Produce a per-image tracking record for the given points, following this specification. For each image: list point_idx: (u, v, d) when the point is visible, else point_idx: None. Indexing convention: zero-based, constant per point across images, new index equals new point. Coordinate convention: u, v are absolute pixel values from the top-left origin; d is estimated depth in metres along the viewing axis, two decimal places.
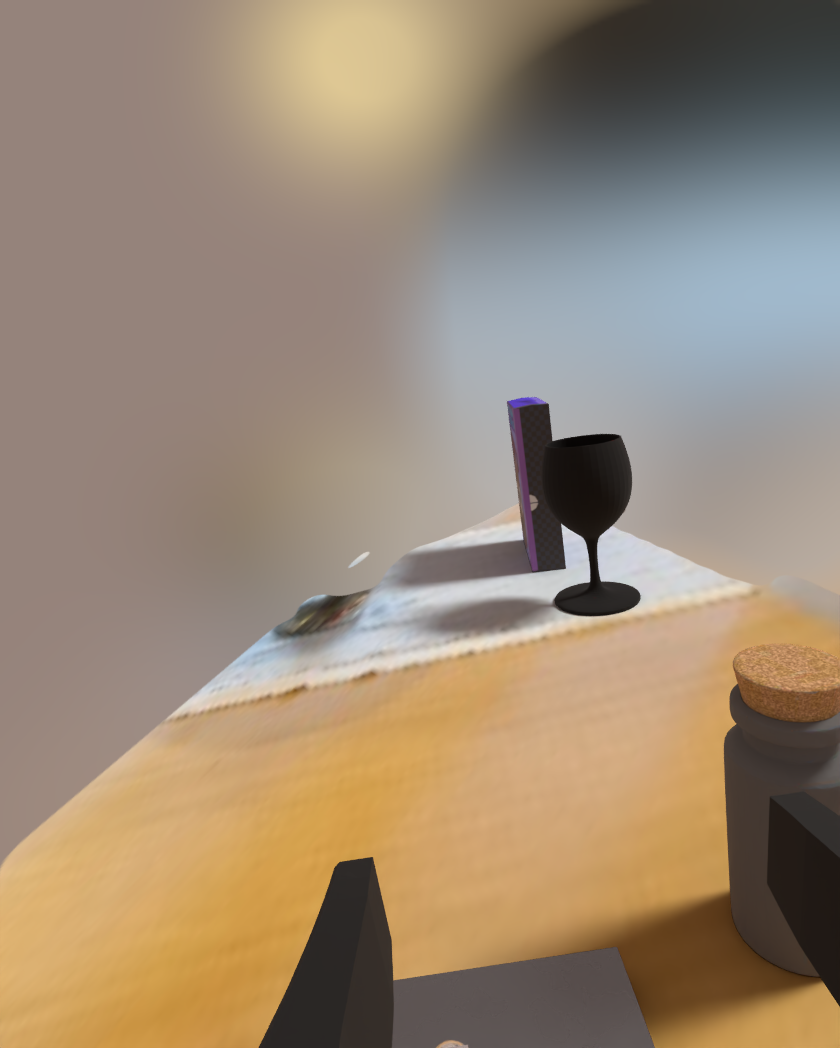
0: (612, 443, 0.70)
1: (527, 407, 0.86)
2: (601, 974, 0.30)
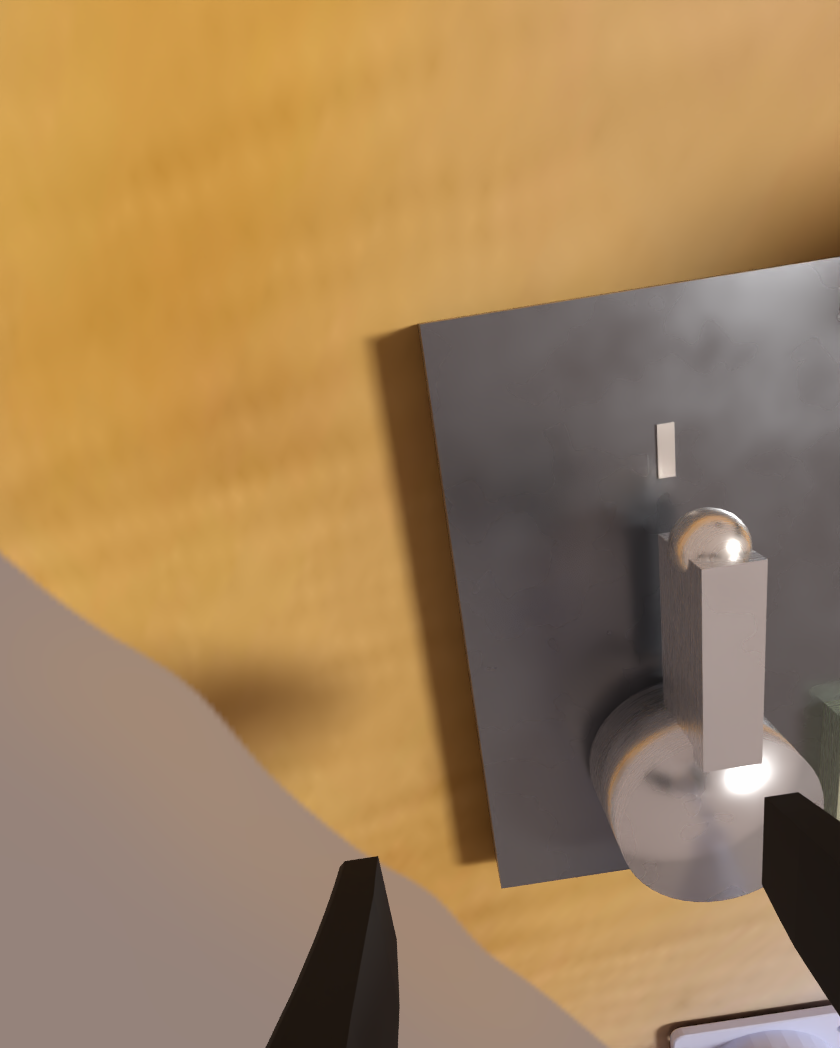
0: None
1: None
2: None
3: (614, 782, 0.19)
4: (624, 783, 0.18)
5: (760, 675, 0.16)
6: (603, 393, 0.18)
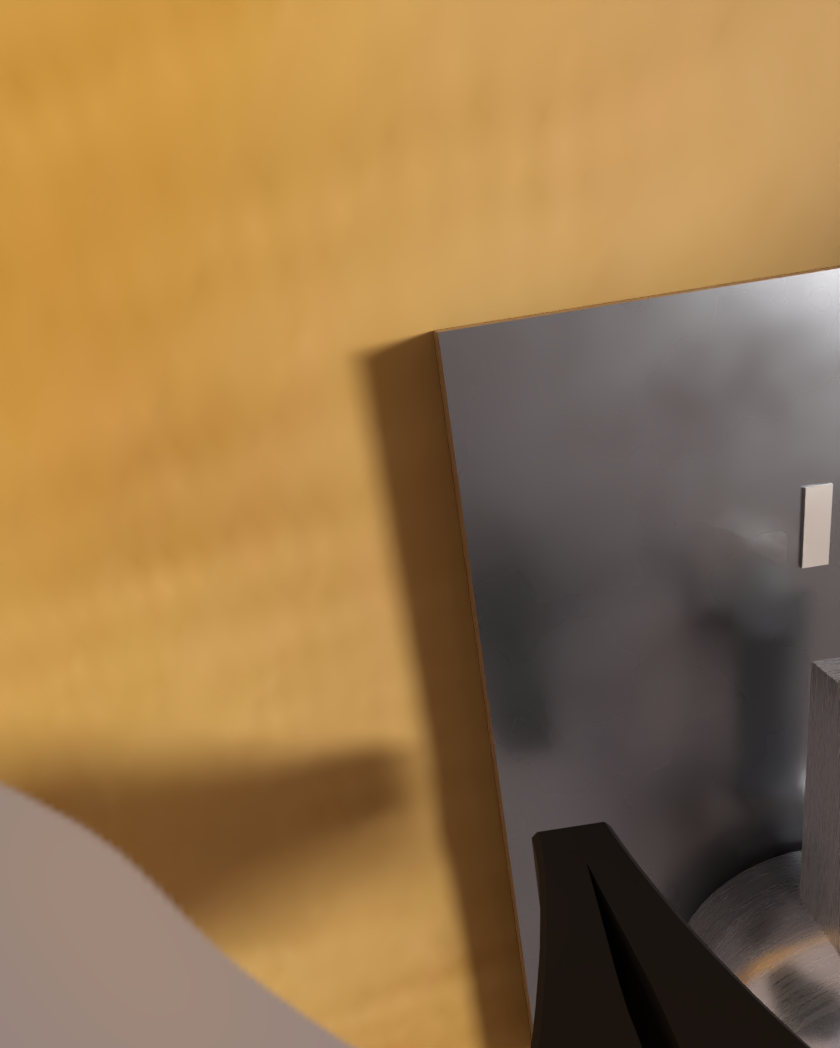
0: None
1: None
2: None
3: None
4: None
5: None
6: (725, 440, 0.11)
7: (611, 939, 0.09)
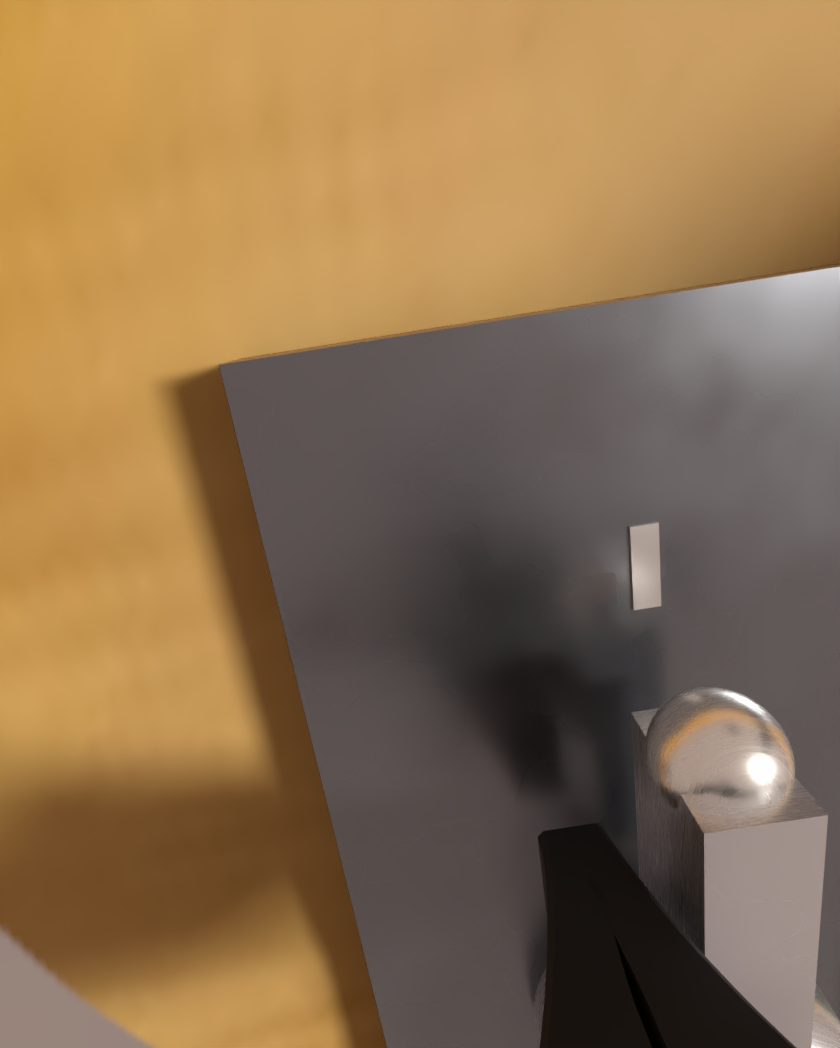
0: None
1: None
2: None
3: None
4: None
5: (807, 991, 0.09)
6: (540, 477, 0.11)
7: None
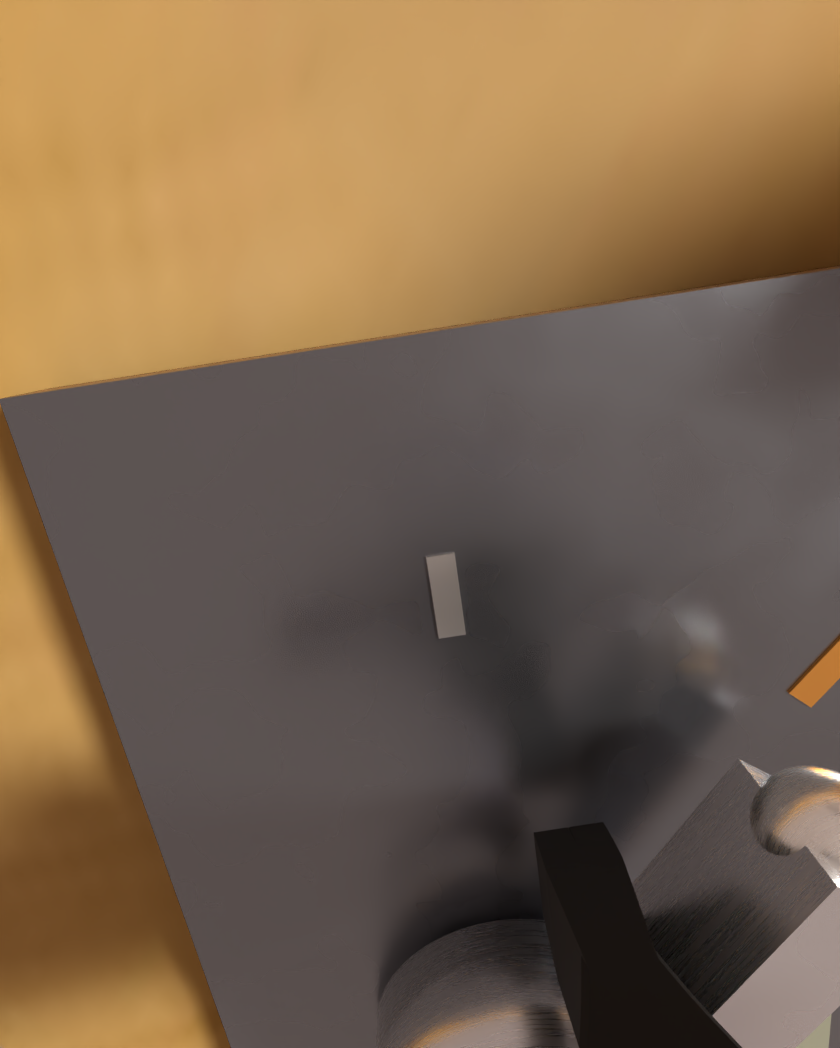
0: None
1: None
2: None
3: None
4: None
5: None
6: (331, 509, 0.11)
7: (567, 946, 0.09)
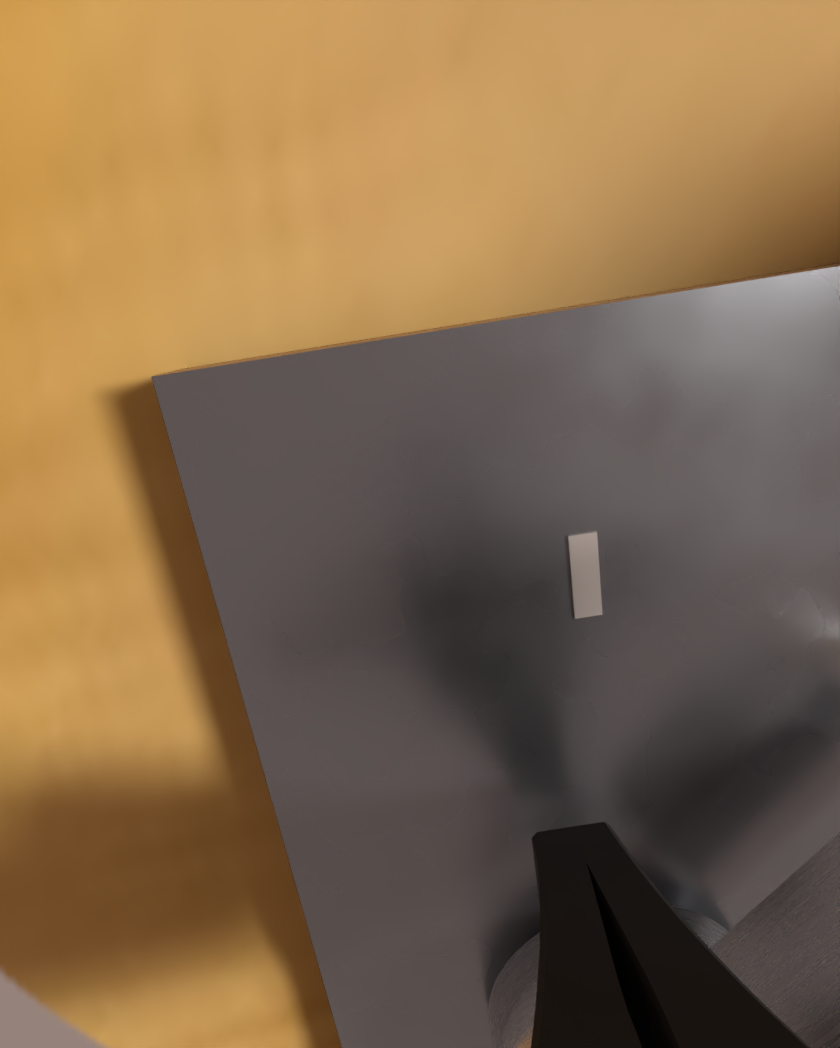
0: None
1: None
2: None
3: None
4: None
5: None
6: (477, 487, 0.11)
7: (611, 939, 0.09)
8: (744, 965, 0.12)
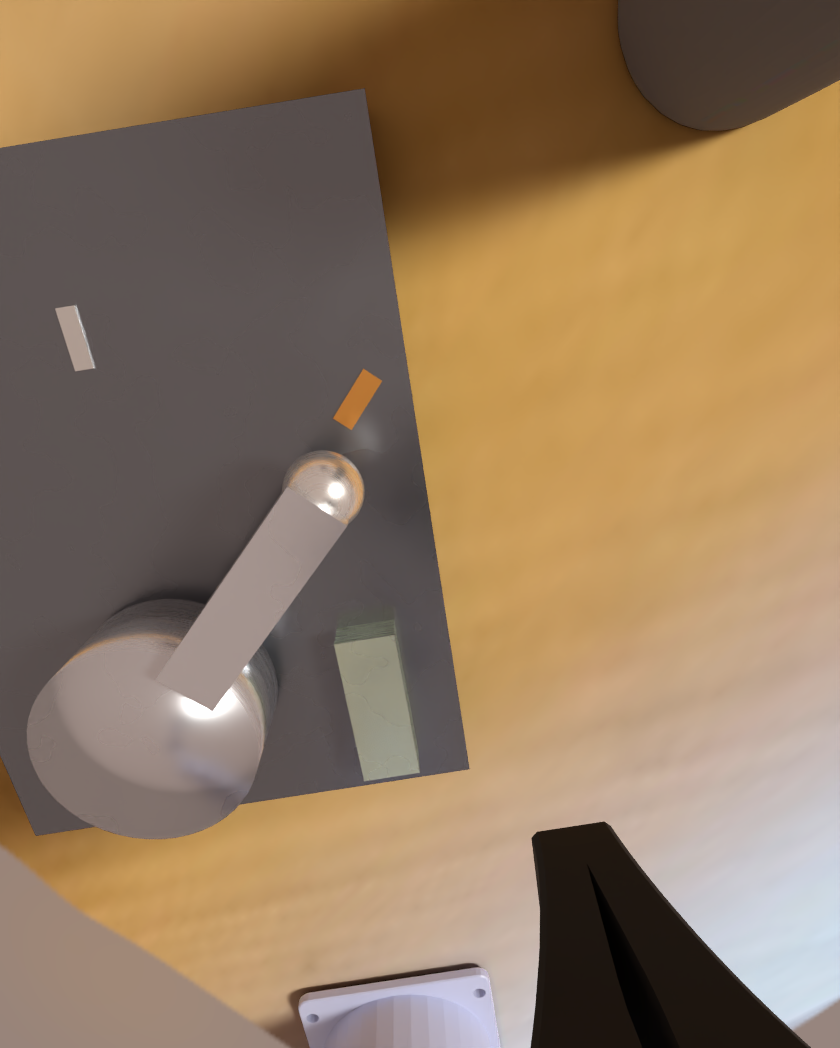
0: None
1: None
2: (326, 157, 0.15)
3: (85, 647, 0.17)
4: (89, 649, 0.16)
5: (268, 627, 0.15)
6: None
7: (611, 939, 0.09)
8: (199, 612, 0.17)
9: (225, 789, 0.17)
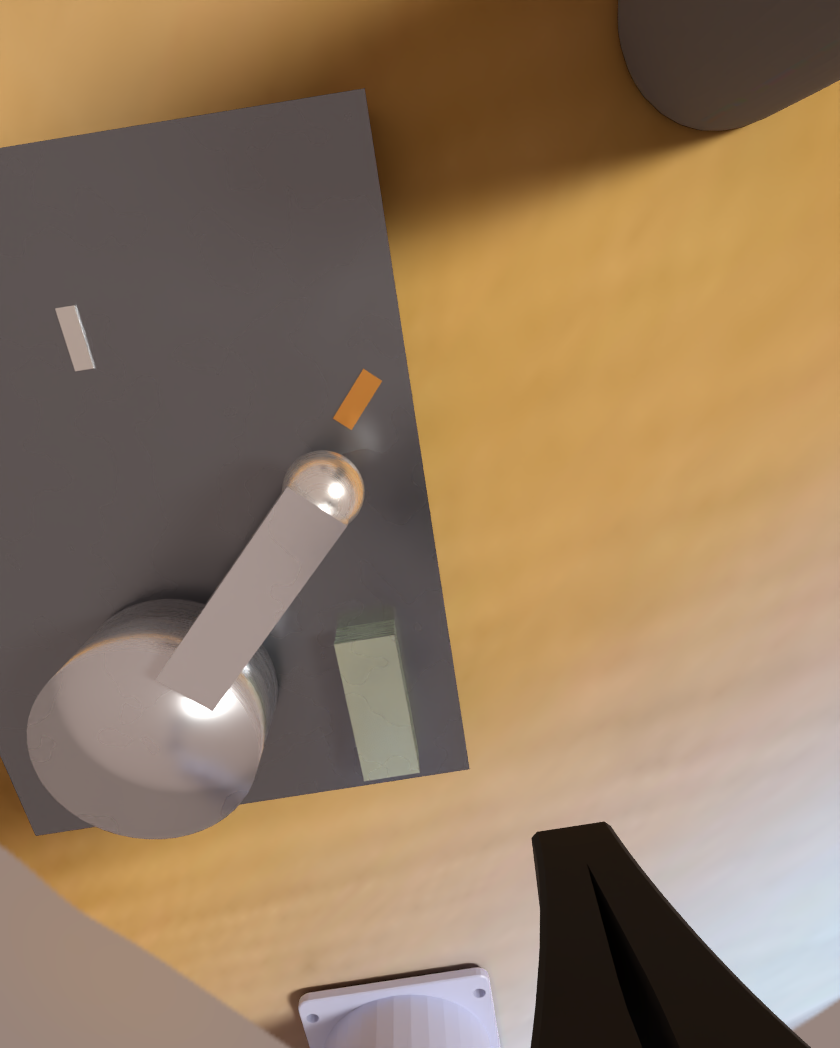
0: None
1: None
2: (326, 157, 0.15)
3: (85, 647, 0.17)
4: (89, 649, 0.16)
5: (268, 627, 0.15)
6: None
7: (611, 939, 0.09)
8: (199, 612, 0.17)
9: (225, 789, 0.17)
